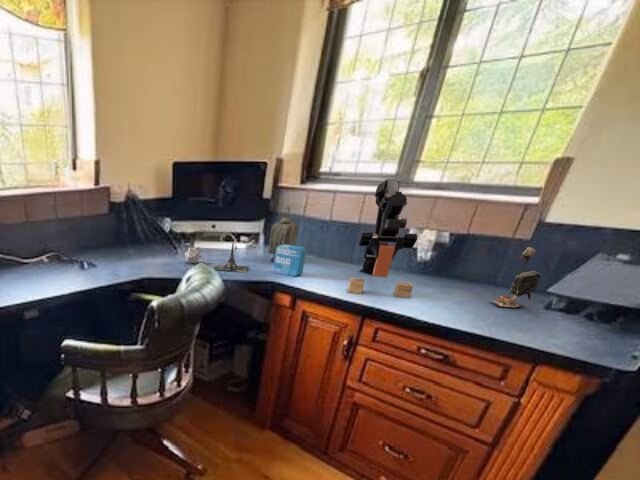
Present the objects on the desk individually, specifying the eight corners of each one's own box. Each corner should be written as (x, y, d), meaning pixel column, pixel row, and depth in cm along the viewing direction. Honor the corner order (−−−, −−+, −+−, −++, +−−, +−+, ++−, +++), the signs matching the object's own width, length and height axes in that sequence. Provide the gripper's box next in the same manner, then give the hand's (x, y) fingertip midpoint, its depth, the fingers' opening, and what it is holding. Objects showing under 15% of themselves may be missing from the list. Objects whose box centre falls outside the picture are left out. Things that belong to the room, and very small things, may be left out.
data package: (272, 272, 192) (276, 245, 186) (277, 270, 194) (281, 243, 188) (297, 277, 184) (301, 249, 178) (302, 275, 186) (307, 247, 180)
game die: (194, 270, 213) (208, 254, 209) (188, 267, 206) (201, 250, 202) (183, 259, 216) (195, 243, 212) (176, 256, 209) (189, 239, 204)
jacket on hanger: (276, 256, 219) (283, 205, 207) (293, 258, 215) (302, 206, 202) (266, 262, 209) (273, 208, 197) (284, 264, 204) (293, 209, 192)
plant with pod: (534, 310, 140) (563, 249, 131) (493, 307, 144) (519, 247, 134) (524, 303, 147) (550, 244, 137) (485, 300, 151) (508, 242, 141)
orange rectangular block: (372, 273, 166) (379, 244, 161) (385, 274, 165) (393, 245, 159) (373, 276, 163) (381, 247, 157) (387, 277, 161) (395, 247, 156)
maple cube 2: (393, 293, 161) (397, 281, 158) (407, 294, 159) (411, 282, 157) (395, 296, 157) (398, 284, 155) (409, 297, 155) (413, 285, 153)
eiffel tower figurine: (248, 267, 201) (252, 238, 194) (245, 272, 193) (249, 242, 186) (217, 265, 206) (219, 237, 199) (213, 270, 197) (215, 240, 191)
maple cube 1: (347, 289, 166) (350, 277, 164) (360, 290, 165) (363, 278, 162) (348, 292, 163) (351, 280, 160) (361, 293, 161) (364, 281, 159)
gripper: (367, 209, 159) (361, 244, 155) (424, 210, 152) (420, 247, 149) (360, 228, 169) (355, 261, 165) (414, 229, 162) (410, 265, 159)
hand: (384, 258), depth 159 cm, fingers closed on orange rectangular block, 5 cm apart
